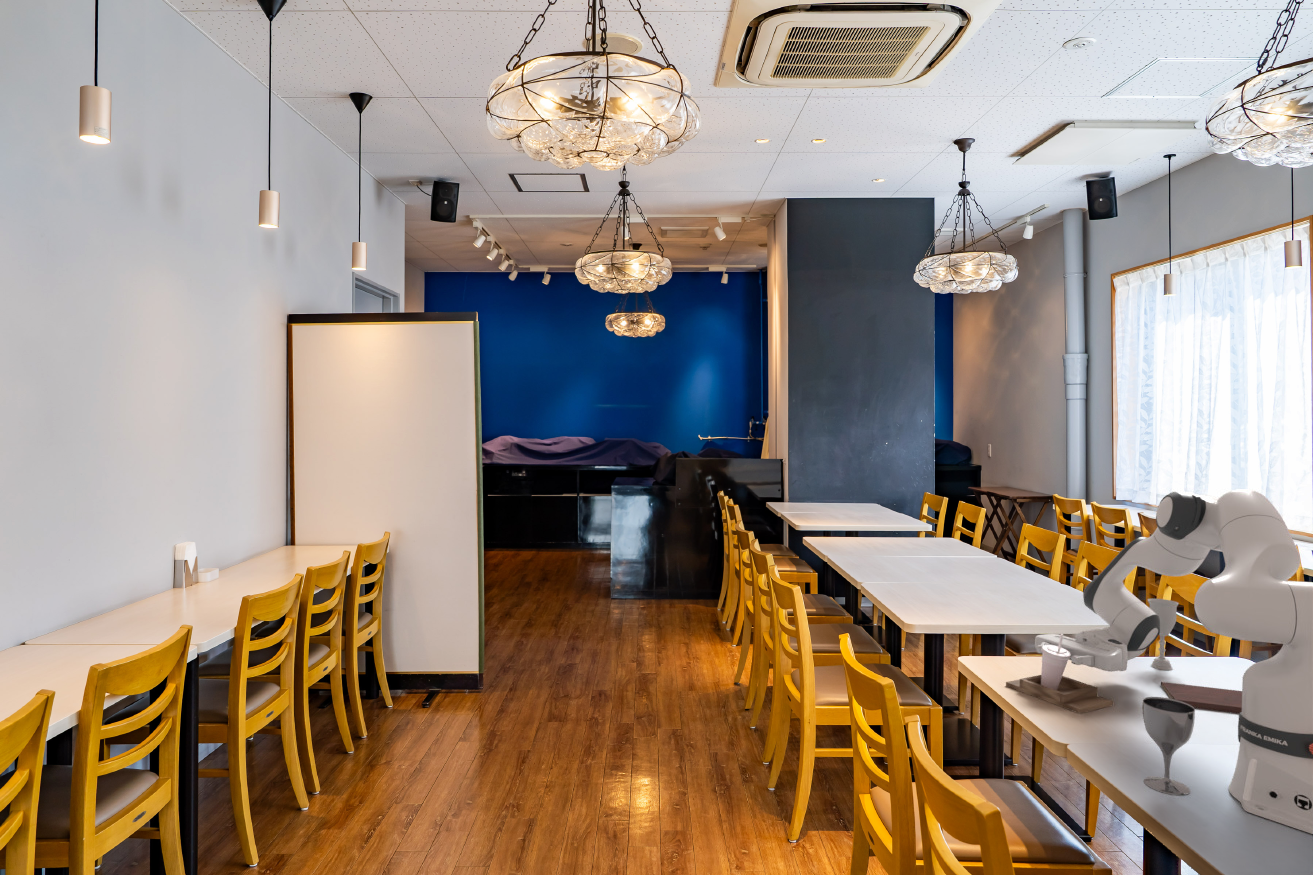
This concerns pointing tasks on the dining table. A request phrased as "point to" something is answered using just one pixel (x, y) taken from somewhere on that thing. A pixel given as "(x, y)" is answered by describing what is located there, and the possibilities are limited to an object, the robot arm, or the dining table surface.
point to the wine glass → (1168, 736)
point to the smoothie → (1053, 664)
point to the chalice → (1163, 627)
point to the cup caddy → (1063, 693)
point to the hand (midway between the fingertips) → (1056, 655)
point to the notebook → (1205, 697)
